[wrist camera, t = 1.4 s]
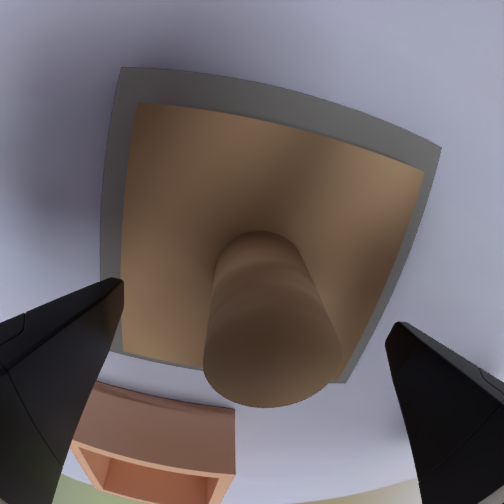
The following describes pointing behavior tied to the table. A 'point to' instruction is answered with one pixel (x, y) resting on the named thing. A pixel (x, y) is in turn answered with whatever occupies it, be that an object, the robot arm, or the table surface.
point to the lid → (255, 249)
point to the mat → (262, 108)
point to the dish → (155, 447)
